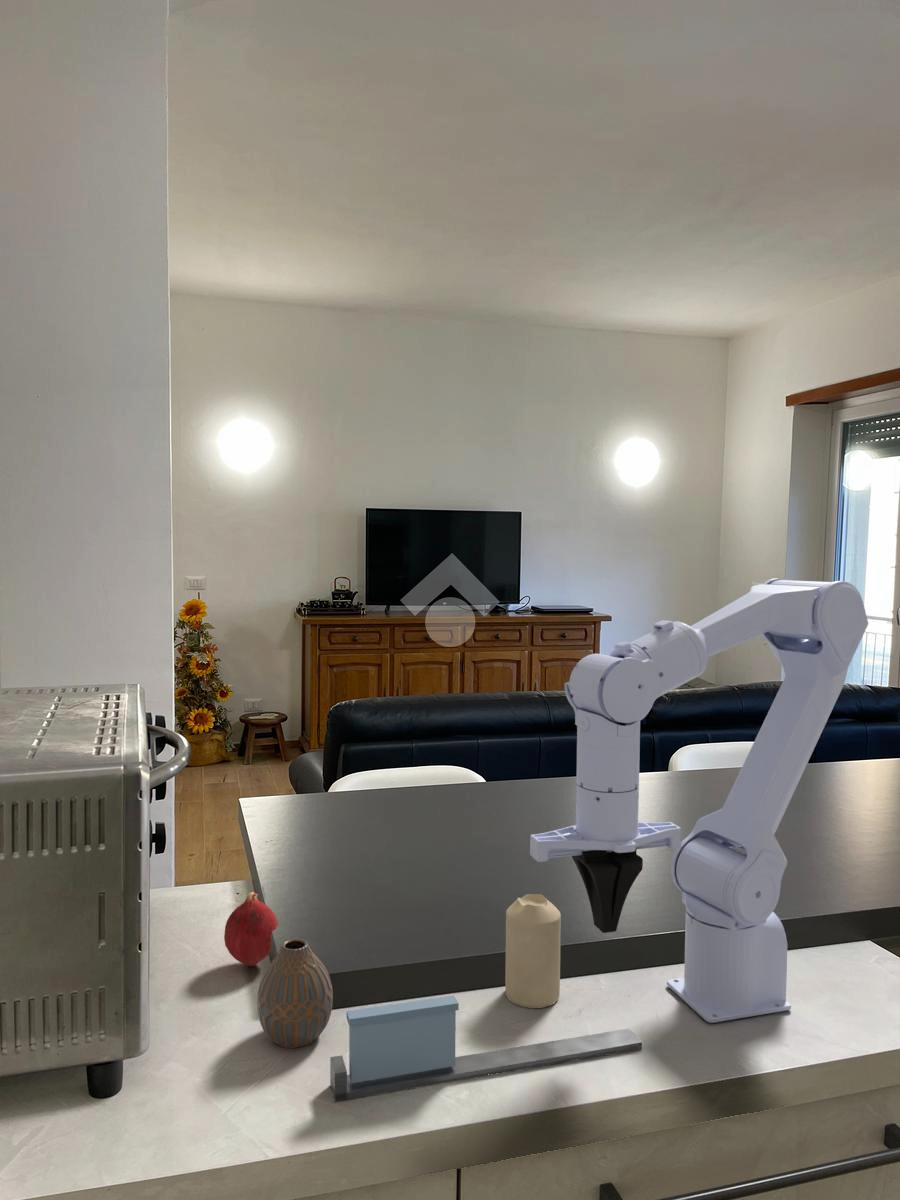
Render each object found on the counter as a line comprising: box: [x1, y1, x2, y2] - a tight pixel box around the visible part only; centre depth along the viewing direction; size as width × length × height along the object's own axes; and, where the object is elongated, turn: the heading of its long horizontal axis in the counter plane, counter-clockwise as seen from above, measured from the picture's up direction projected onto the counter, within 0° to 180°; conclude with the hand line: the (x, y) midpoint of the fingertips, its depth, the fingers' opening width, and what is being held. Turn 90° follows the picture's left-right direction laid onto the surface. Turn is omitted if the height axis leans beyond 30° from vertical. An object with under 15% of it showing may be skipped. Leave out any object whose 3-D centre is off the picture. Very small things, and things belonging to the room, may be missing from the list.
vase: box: [256, 938, 334, 1049], centre depth 81 cm, size 7×7×9 cm
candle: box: [504, 893, 562, 1009], centre depth 89 cm, size 6×6×10 cm
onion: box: [223, 891, 279, 967], centre depth 94 cm, size 6×6×8 cm
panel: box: [346, 994, 459, 1083], centre depth 74 cm, size 9×1×6 cm, turn 106°
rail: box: [329, 1028, 643, 1103], centre depth 76 cm, size 28×2×2 cm, turn 106°
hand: (605, 927), depth 82 cm, fingers closed
